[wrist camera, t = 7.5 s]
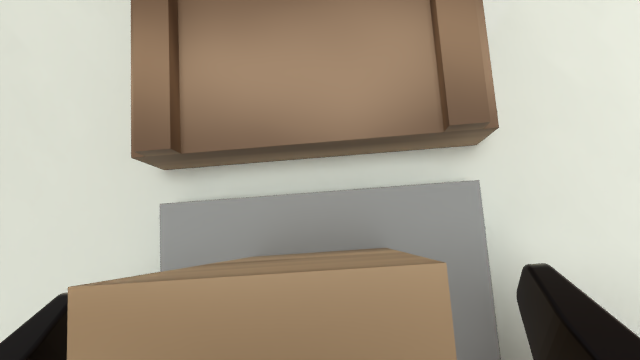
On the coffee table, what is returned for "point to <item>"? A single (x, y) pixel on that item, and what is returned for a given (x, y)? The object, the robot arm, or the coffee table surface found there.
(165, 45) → the walnut shelf lane
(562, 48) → the coffee table surface
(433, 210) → the grey rubber pad
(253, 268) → the oak mallet
